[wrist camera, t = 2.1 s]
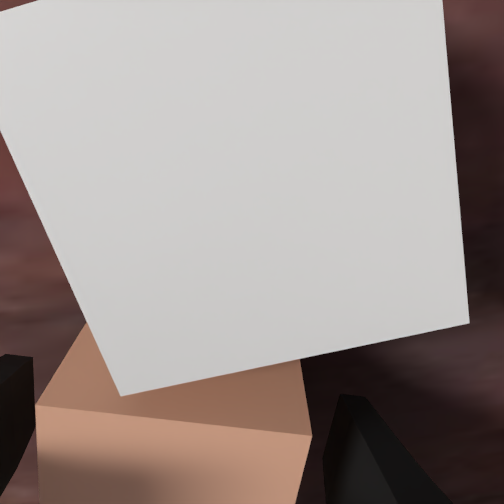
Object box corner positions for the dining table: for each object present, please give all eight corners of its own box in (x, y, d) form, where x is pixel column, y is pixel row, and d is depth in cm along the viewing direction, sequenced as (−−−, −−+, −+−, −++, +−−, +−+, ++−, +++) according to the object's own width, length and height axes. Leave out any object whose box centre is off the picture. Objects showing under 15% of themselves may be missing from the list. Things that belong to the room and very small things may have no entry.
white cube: (377, 210, 11) (469, 323, 6) (173, 258, 11) (120, 396, 7) (339, -29, 9) (432, -118, 4) (97, 40, 10) (-47, 26, 5)
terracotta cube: (263, 437, 14) (268, 605, 9) (107, 420, 13) (42, 585, 9) (290, 303, 12) (312, 436, 8) (112, 280, 12) (35, 404, 7)
